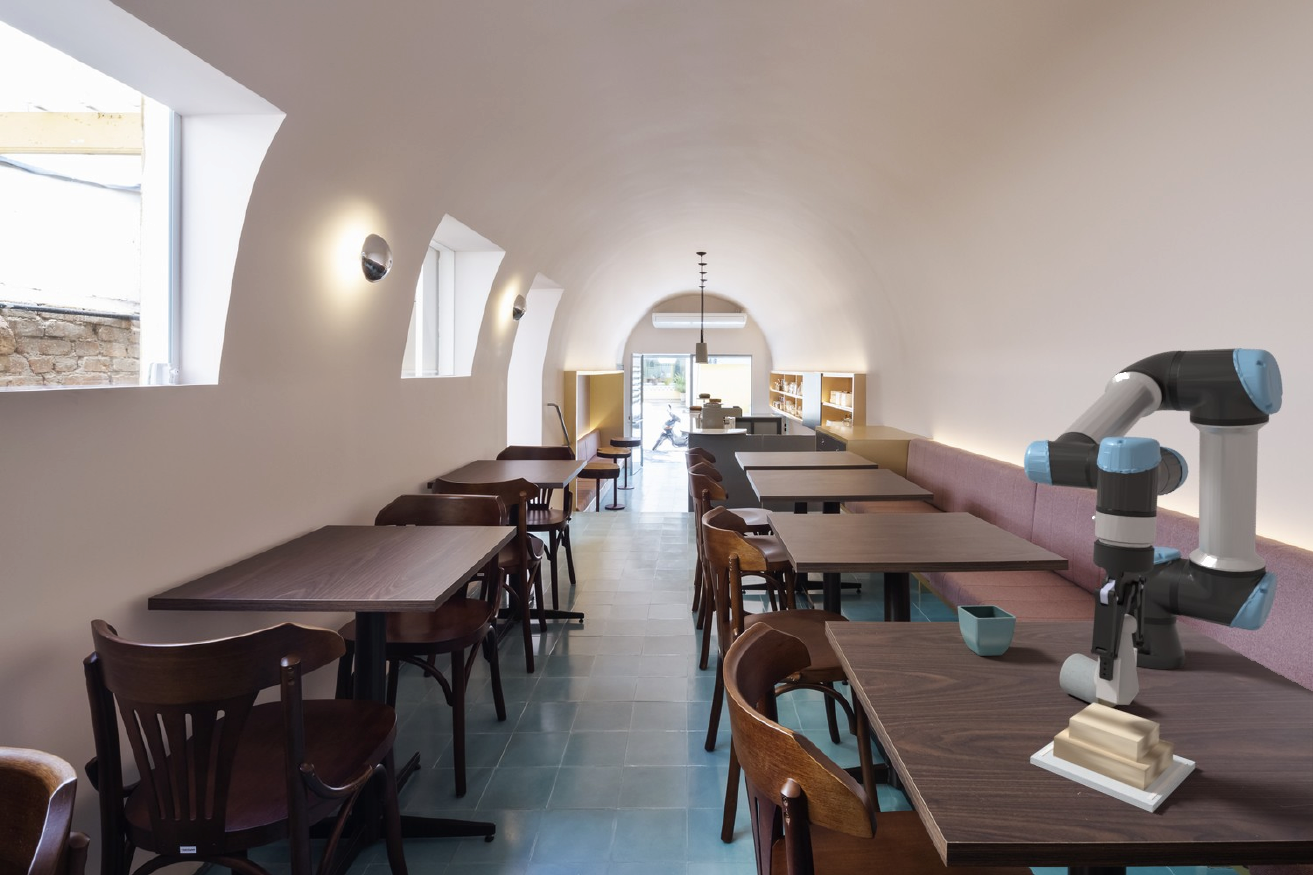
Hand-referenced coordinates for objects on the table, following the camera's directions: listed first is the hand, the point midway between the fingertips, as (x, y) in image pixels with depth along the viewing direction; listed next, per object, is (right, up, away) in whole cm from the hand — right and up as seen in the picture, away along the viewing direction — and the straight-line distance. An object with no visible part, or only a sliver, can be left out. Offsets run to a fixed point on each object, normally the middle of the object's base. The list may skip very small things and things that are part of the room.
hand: (1115, 693), depth 107 cm
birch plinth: (0, -11, +1) cm, 11 cm away
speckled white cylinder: (+12, -10, +24) cm, 28 cm away
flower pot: (+2, -8, +47) cm, 47 cm away
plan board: (0, -11, +1) cm, 11 cm away
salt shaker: (0, -1, 0) cm, 1 cm away
